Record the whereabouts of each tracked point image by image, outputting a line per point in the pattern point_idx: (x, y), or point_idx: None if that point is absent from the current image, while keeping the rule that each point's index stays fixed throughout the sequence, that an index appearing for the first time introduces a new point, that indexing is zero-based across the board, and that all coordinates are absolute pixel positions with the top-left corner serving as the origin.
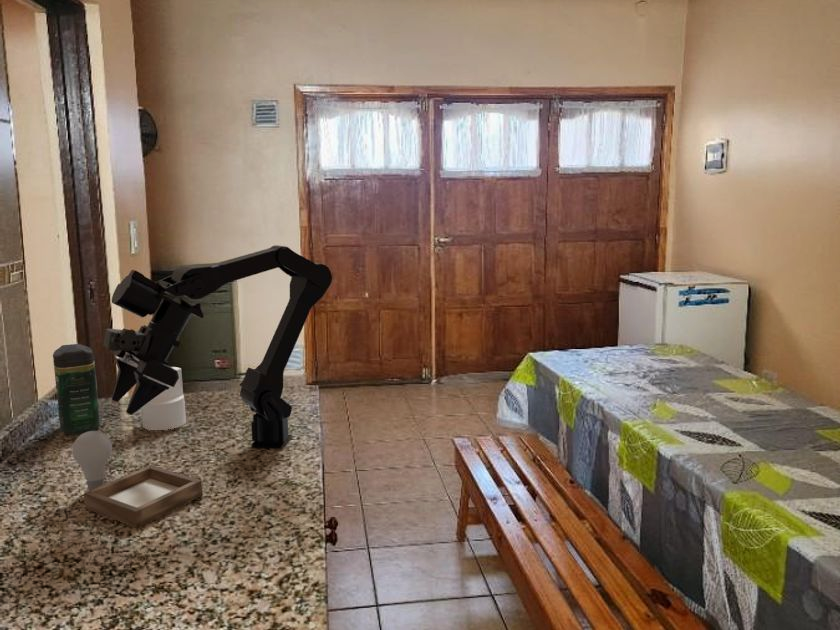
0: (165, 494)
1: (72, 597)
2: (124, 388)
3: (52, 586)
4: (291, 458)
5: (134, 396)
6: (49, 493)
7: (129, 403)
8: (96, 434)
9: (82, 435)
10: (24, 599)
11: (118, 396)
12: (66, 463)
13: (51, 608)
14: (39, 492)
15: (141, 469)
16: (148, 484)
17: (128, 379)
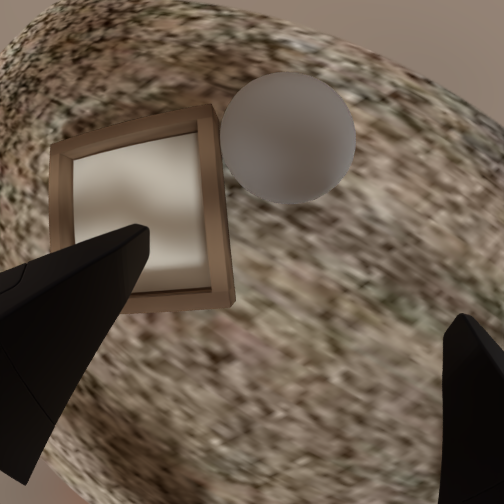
0: (58, 223)
1: (30, 45)
2: (463, 411)
3: (61, 31)
4: (110, 495)
5: (30, 262)
6: (366, 114)
7: (104, 244)
8: (257, 121)
9: (297, 84)
10: (69, 9)
11: (454, 354)
12: (490, 227)
13: (36, 29)
14: (387, 106)
15: (223, 273)
16: (183, 260)
17: (481, 470)
